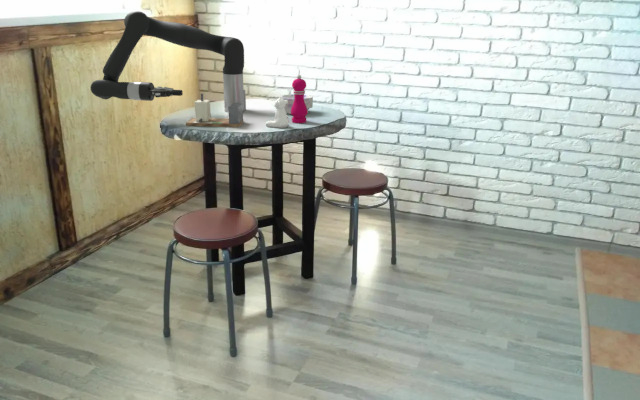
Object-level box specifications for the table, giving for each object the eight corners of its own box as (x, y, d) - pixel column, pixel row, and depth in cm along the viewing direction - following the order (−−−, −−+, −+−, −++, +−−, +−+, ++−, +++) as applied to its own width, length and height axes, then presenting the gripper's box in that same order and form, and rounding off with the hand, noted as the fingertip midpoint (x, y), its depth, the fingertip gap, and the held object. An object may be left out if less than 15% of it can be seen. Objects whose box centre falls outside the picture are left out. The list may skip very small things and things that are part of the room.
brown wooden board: (185, 125, 224) (185, 122, 224) (193, 120, 235) (193, 117, 234) (238, 127, 223) (238, 123, 223) (243, 121, 233) (243, 118, 233)
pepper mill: (289, 123, 232) (289, 75, 225) (292, 119, 239) (292, 73, 232) (306, 123, 231) (306, 76, 224) (308, 120, 238) (309, 74, 231)
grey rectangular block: (228, 123, 223) (228, 106, 221) (234, 118, 233) (233, 102, 230) (238, 124, 223) (237, 107, 221) (243, 119, 233) (242, 102, 230)
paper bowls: (308, 109, 263) (308, 93, 260) (315, 115, 249) (316, 98, 246) (277, 110, 259) (277, 93, 256) (283, 116, 245) (283, 99, 243)
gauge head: (193, 122, 223) (192, 95, 220) (199, 118, 231) (197, 92, 228) (205, 122, 223) (204, 96, 219) (210, 118, 231) (209, 92, 227)
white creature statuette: (282, 123, 232) (282, 95, 228) (295, 126, 226) (295, 97, 222) (264, 126, 226) (264, 97, 222) (277, 130, 220) (277, 100, 216)
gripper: (134, 84, 218) (176, 85, 218) (146, 80, 231) (186, 81, 230) (135, 102, 221) (177, 104, 220) (147, 97, 233) (187, 99, 233)
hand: (182, 92), depth 225 cm, fingers closed
